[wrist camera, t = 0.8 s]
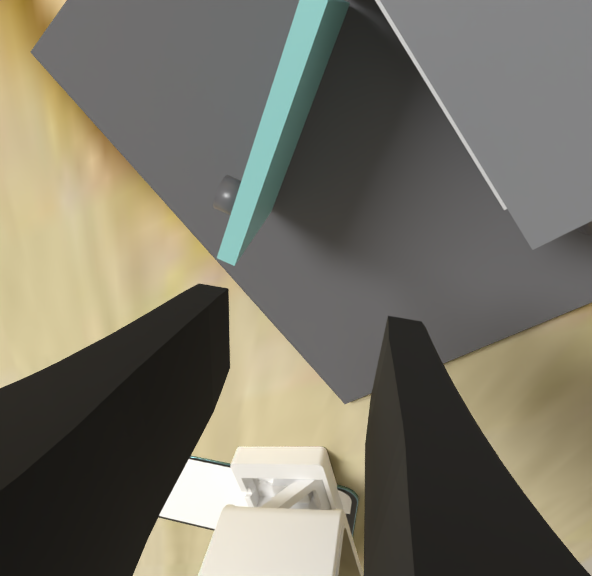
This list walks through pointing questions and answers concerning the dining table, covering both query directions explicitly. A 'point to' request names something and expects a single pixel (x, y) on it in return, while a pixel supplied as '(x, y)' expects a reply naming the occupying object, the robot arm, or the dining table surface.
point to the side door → (279, 124)
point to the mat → (317, 177)
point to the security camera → (283, 518)
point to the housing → (513, 98)
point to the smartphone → (221, 495)
